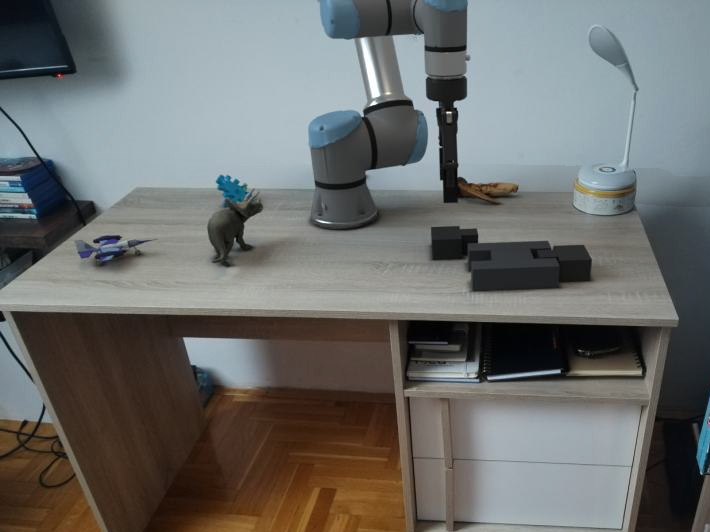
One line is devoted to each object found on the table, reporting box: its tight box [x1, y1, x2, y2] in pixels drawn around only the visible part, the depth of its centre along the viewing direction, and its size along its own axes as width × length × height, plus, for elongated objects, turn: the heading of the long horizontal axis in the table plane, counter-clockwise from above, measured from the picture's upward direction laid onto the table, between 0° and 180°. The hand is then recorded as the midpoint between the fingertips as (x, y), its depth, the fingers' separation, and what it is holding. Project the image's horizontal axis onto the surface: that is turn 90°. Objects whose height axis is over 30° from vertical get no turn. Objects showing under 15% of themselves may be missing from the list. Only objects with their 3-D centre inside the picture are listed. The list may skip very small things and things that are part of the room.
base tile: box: [467, 240, 560, 292], centre depth 124 cm, size 12×16×4 cm
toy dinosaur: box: [206, 188, 264, 267], centre depth 131 cm, size 22×8×11 cm, turn 168°
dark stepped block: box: [537, 244, 593, 283], centre depth 124 cm, size 7×10×4 cm
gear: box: [214, 174, 255, 207], centre depth 159 cm, size 11×6×10 cm
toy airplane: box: [74, 234, 158, 266], centre depth 133 cm, size 13×14×4 cm
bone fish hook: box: [458, 176, 520, 205], centre depth 162 cm, size 9×5×18 cm
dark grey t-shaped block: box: [430, 225, 479, 261], centre depth 134 cm, size 7×10×4 cm
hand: (448, 190), depth 128 cm, fingers open, 13 cm apart
